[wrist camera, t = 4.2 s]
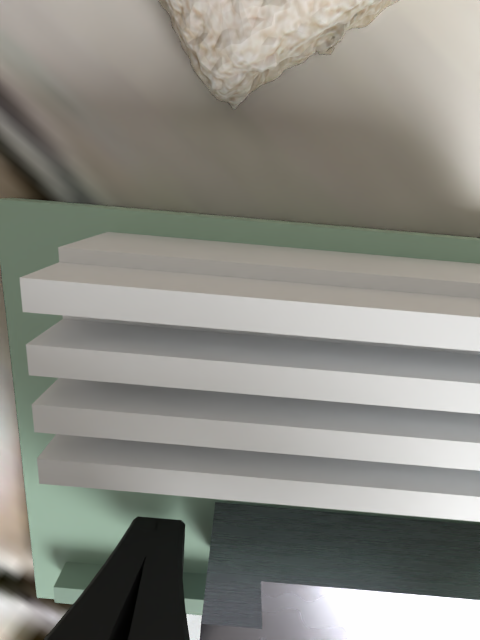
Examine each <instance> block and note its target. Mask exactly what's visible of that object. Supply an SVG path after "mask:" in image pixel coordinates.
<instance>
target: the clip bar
mask: <svg viewBox="0 0 480 640" xmlns="http://www.w3.org/2000/svg"><path fill="white" fill-rule="evenodd" d="M200 640H480V525H475V524H463V523H452V522H440V521H429V520H417V519H406V518H394V517H383V516H371V515H359V514H348V513H336V512H325V511H313V510H302V509H290V508H278V507H267V506H255V505H244V504H232V503H221V502H215V509H214V517H213V526H212V535H211V543H210V552H209V560H208V569H207V578H206V586H205V595H204V604H203V612H202V621H201V633H200Z"/></svg>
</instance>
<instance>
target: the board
mask: <svg viewBox="0 0 480 640" xmlns="http://www.w3.org/2000/svg"><path fill="white" fill-rule="evenodd" d="M0 265H1V274H2V283H3V293H4V302H5V311H6V320H7V329H8V338H9V347H10V356H11V365H12V374H13V384H14V393H15V402H16V411H17V420H18V429H19V438H20V447H21V456H22V465H23V474H24V484H25V493H26V502H27V511H28V520H29V529H30V538H31V547H32V556H33V565H34V574H35V584H36V593H37V598H48V599H55V603H66V604H74V603H75V601H76V600H77V599H78V598H79V596H80V595H81V594H82V593H83V591H84V590H85V589H86V587H87V586H88V585H89V583H90V582H91V581H92V579H93V578H94V577H95V575H96V574H97V573H98V571H99V570H100V569H101V567H102V566H103V565H104V563H105V562H106V560H107V559H108V558H109V556H110V555H111V553H112V552H113V551H114V549H115V548H116V546H117V545H118V543H119V542H120V540H121V539H122V537H123V536H124V534H125V532H126V531H127V529H128V528H129V526H130V524H131V523H132V521H133V519H135V518H136V517H138V516H139V517H151V518H163V519H175V520H182V521H183V522H184V523H185V544H184V566H183V589H184V599H185V610H186V614H193V615H202V612H203V604H204V595H205V586H206V578H207V569H208V560H209V552H210V543H211V535H212V526H213V517H214V509H215V502H221V503H232V504H244V505H255V506H267V507H278V508H290V509H302V510H313V511H325V512H336V513H348V514H359V515H371V516H383V517H394V518H406V519H417V520H429V521H440V522H452V523H463V524H475V525H480V238H476V237H464V236H452V235H441V234H429V233H418V232H406V231H394V230H383V229H371V228H359V227H348V226H336V225H325V224H313V223H301V222H290V221H278V220H267V219H255V218H243V217H232V216H220V215H208V214H197V213H185V212H174V211H162V210H150V209H139V208H127V207H115V206H104V205H92V204H81V203H69V202H57V201H46V200H34V199H23V198H0Z"/></svg>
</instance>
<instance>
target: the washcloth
mask: <svg viewBox="0 0 480 640" xmlns="http://www.w3.org/2000/svg"><path fill="white" fill-rule="evenodd" d="M398 1H400V0H159V2H160V4H161V6H162V7H163V8H164V9H165V10H166V11H167V12H169V14H170V18H171V23H172V28H173V29H174V31H175V32H176V33H177V35H178V36H179V38H180V42H181V46H182V48H183V49H184V51H185V52H186V54H187V55H188V57H189V58H190V62H191V66H192V67H193V69H194V71H195V72H196V73H197V75H198V76H199V77H200V79H201V80H202V82H203V83H204V84H205V85H206V86H207V87H208V88H209V90H210V92H211V94H212V95H213V96H214V97H215V98H216V99H217V100H220V101H223V102H229V103H230V105H231V107H232V108H233V109H234V110H235V109H236V108H237V107H238V105H239V104H240V103H241V102H243V101H244V100H245V99H246V97H247V96H248V95H249V94H250V92H253V91H254V90H256V89H257V88H258V87H260V86H261V85H263V84H265V83H269V82H271V81H274V80H275V79H277V78H278V77H280V75H281V74H282V73H283V71H284V70H285V69H288V68H291V67H293V66H296V65H299V64H301V63H304V61H306V59H307V58H308V57H310V56H312V55H314V54H315V51H318V53H319V54H323V55H330V54H331V53H332V52H333V50H334V47H335V46H336V45H337V43H339V42H340V41H341V40H342V38H343V36H344V34H345V32H346V31H347V30H349V29H352V28H363V27H366V26H367V25H368V24H370V23H371V22H372V21H373V20H374V19H375V18H376V17H377V16H378V15H379V14H380V13H381V12H382V11H383V10H384V9H385V8H386V7H388V6H390V5H392V4H394V3H396V2H398Z"/></svg>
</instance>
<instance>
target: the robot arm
mask: <svg viewBox="0 0 480 640" xmlns="http://www.w3.org/2000/svg"><path fill="white" fill-rule="evenodd" d="M184 544H185V523H184V522H183V521H182V520H175V519H163V518H151V517H139V516H138V517H136V518H135V519H133V521H132V523H131V524H130V526H129V528H128V529H127V531H126V532H125V534H124V536H123V537H122V539H121V540H120V542H119V543H118V545H117V546H116V548H115V549H114V551H113V552H112V553H111V555H110V556H109V558H108V559H107V560H106V562H105V563H104V565H103V566H102V567H101V569H100V570H99V571H98V573H97V574H96V575H95V577H94V578H93V579H92V581H91V582H90V583H89V585H88V586H87V587H86V589H85V590H84V591H83V593H82V594H81V595H80V596H79V598H78V599H77V600H76V601H75V603H74V604H73V605H72V606H71V607H70V609H69V610H68V611H67V612H66V614H65V615H64V616H63V617H62V618H61V620H60V621H59V622H58V623H57V624H56V626H55V627H54V628H53V629H52V630H51V632H50V633H49V634H48V635H47V636H46V637H45V638H44V640H190V639H189V632H188V625H187V618H186V610H185V599H184V589H183V566H184Z"/></svg>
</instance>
